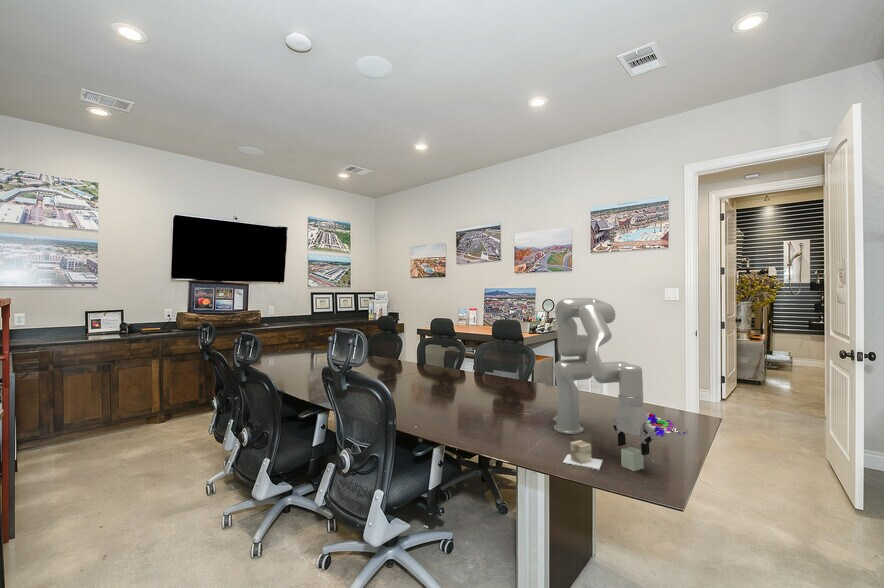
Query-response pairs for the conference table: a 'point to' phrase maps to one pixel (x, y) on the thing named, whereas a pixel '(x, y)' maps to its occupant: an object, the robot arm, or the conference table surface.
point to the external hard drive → (593, 464)
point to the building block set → (653, 420)
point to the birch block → (581, 451)
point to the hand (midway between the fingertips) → (633, 449)
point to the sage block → (632, 459)
